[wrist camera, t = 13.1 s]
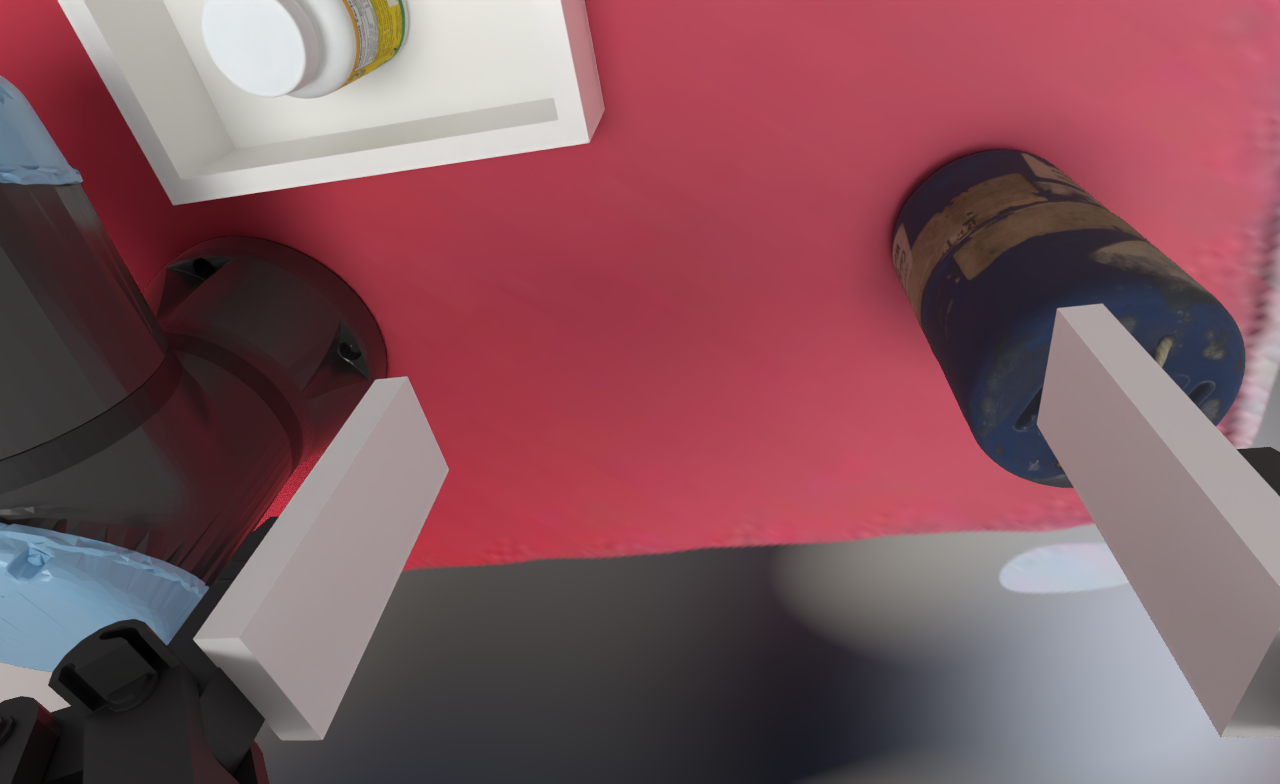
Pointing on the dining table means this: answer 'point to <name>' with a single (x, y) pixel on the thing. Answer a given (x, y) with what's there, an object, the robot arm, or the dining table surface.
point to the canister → (1044, 297)
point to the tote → (347, 95)
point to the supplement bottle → (301, 42)
